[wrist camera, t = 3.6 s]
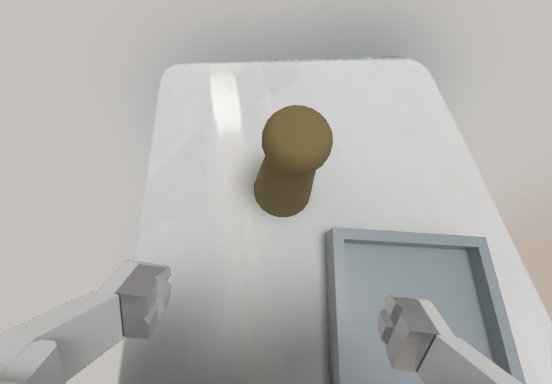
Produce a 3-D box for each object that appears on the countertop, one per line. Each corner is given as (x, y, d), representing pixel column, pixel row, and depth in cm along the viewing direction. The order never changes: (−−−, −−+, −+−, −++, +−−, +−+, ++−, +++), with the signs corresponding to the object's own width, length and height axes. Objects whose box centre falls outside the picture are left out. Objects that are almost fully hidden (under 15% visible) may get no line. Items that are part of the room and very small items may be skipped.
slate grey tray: (509, 423, 22) (540, 437, 19) (332, 421, 21) (342, 436, 18) (465, 242, 28) (485, 237, 25) (325, 233, 27) (332, 227, 24)
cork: (241, 188, 28) (237, 123, 17) (281, 154, 30) (298, 78, 20) (283, 229, 26) (304, 183, 16) (321, 190, 28) (361, 129, 18)
